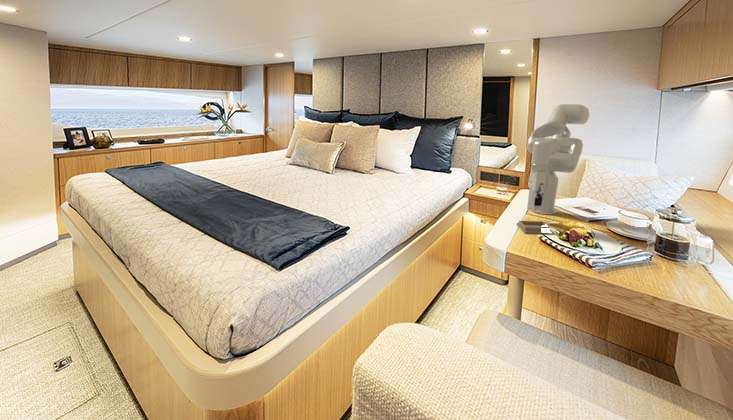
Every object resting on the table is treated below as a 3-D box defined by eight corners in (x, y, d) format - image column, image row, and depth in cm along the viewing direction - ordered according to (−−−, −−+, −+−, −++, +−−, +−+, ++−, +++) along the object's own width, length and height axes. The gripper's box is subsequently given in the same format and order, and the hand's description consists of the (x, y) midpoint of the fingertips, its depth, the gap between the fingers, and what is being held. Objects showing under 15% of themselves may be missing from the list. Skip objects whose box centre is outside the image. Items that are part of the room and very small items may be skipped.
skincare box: (534, 211, 175) (537, 187, 171) (526, 209, 178) (529, 185, 174) (542, 209, 178) (545, 185, 174) (533, 206, 181) (536, 183, 177)
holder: (516, 224, 174) (517, 219, 173) (542, 225, 173) (543, 220, 172) (524, 233, 162) (525, 228, 162) (552, 234, 161) (553, 229, 160)
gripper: (525, 163, 180) (521, 197, 185) (537, 171, 163) (533, 208, 169) (541, 163, 179) (536, 197, 185) (555, 171, 163) (549, 208, 168)
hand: (535, 202), depth 177 cm, fingers closed on skincare box, 6 cm apart
